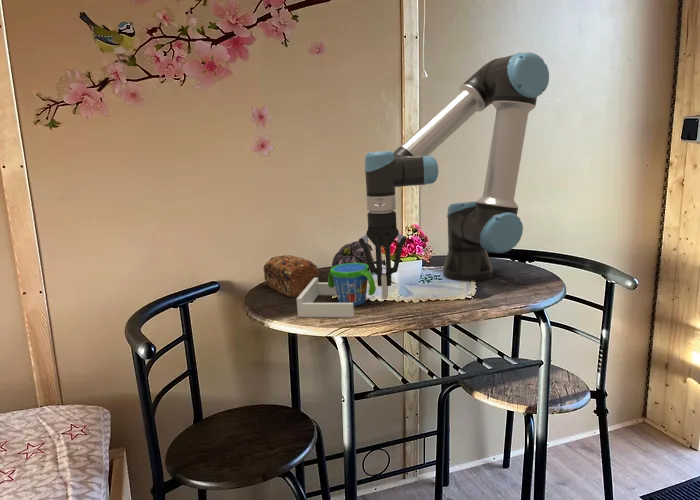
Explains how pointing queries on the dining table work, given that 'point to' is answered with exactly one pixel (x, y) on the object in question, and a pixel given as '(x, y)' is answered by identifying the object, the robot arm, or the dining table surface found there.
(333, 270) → the snack cup
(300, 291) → the bread
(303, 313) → the fence
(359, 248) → the decorative flower
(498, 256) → the dining table surface
